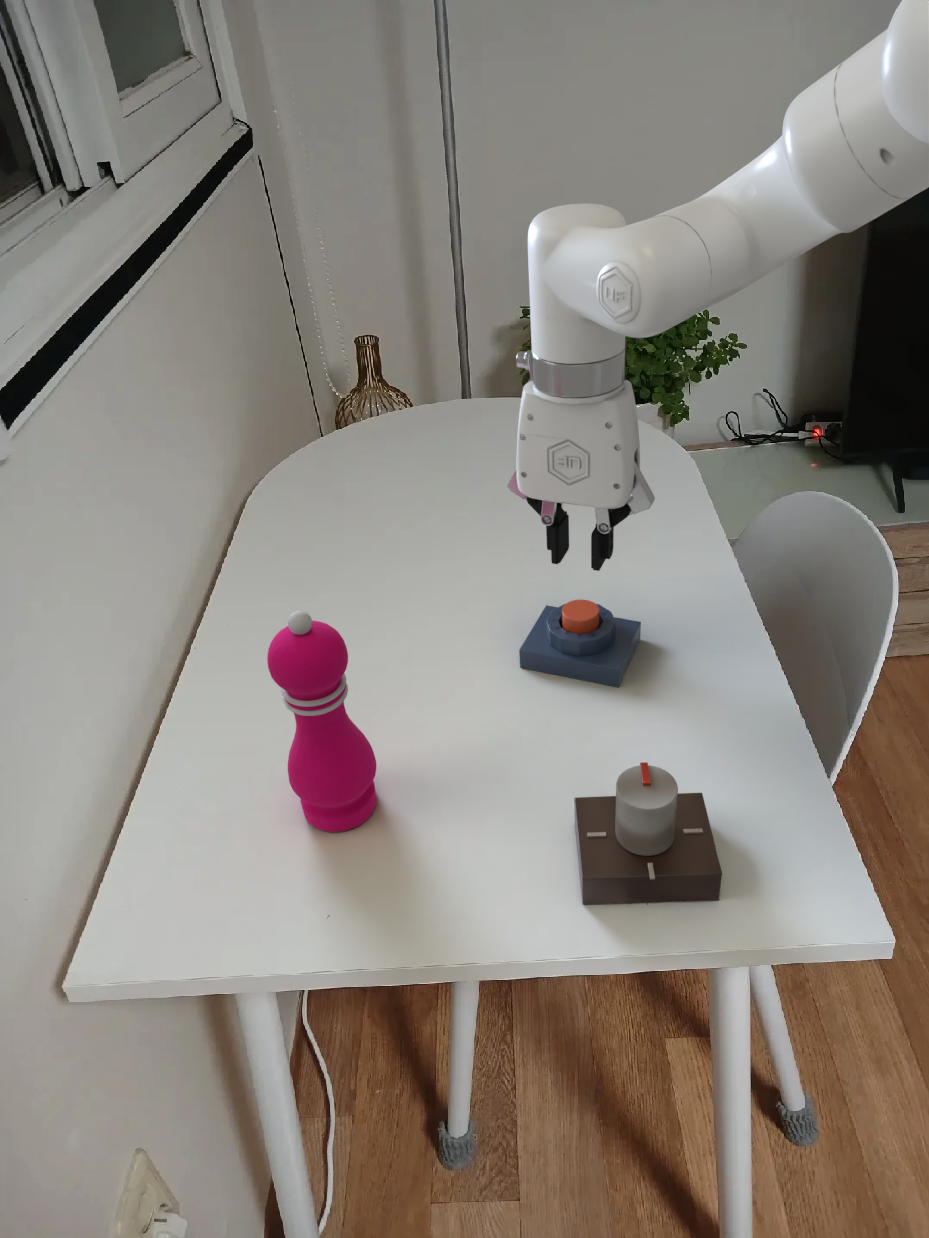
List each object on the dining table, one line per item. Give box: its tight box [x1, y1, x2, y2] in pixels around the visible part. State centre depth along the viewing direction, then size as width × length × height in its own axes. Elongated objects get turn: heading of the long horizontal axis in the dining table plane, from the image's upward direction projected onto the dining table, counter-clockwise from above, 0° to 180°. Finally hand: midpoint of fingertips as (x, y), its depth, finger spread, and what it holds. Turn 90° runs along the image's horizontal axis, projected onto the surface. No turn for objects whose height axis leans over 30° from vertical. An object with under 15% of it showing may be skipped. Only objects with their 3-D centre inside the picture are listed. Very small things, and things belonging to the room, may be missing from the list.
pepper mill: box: [266, 610, 378, 833], centre depth 75 cm, size 7×7×20 cm
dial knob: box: [615, 761, 679, 856], centre depth 70 cm, size 4×4×5 cm
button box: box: [518, 603, 642, 688], centre depth 94 cm, size 10×8×4 cm
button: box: [562, 599, 599, 634], centre depth 92 cm, size 4×4×2 cm
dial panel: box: [573, 792, 723, 906], centre depth 73 cm, size 10×9×3 cm
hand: (580, 558), depth 88 cm, fingers open, 3 cm apart
